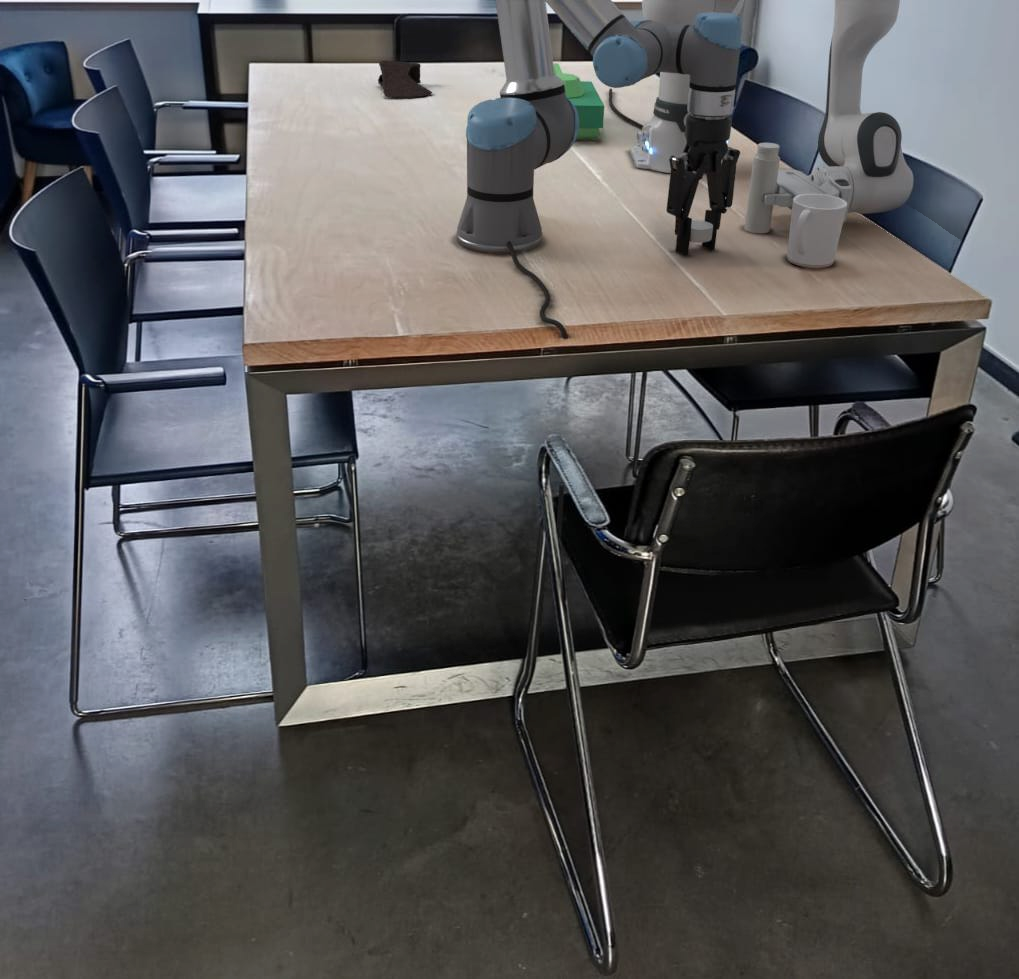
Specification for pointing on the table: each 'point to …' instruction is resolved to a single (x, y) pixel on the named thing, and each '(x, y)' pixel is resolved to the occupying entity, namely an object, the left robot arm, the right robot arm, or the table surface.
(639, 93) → the table surface
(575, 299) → the table surface
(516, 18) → the left robot arm
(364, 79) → the table surface
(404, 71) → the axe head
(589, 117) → the toy tank
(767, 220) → the grey bottle
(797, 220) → the mug
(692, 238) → the lid
